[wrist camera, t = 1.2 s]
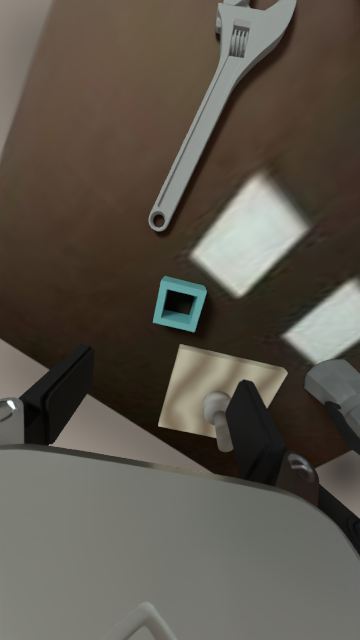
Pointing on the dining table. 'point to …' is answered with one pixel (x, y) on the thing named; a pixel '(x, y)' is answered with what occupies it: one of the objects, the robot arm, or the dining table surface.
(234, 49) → the adjustable wrench
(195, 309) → the collar
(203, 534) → the robot arm
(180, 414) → the post stand
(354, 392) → the coffeepot
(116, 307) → the dining table surface
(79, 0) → the dining table surface
